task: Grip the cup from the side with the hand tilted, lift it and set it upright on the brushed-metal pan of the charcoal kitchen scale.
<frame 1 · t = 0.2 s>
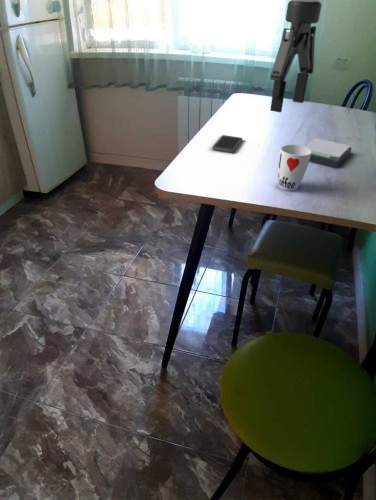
hand: (287, 106, 106), 19 cm above the table, tool pointing down, fingers open, 13 cm apart
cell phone: (227, 145, 138), on the table
scale: (323, 156, 134), on the table
cup: (288, 187, 115), on the table
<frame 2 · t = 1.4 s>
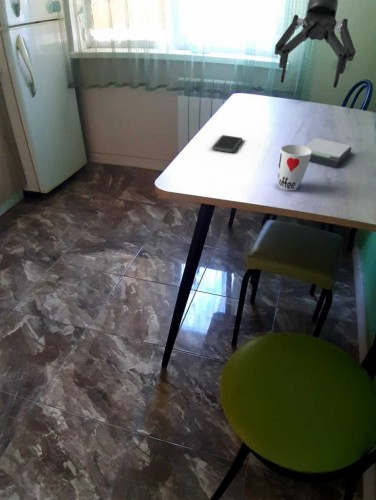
hand: (308, 81, 106), 24 cm above the table, tool tilted 45°, fingers open, 13 cm apart
nothing on the table moved.
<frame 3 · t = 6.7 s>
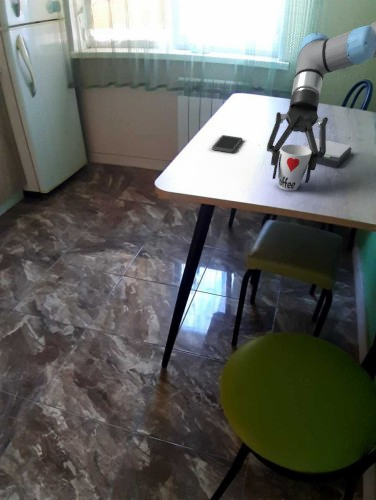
hand: (290, 178, 110), 4 cm above the table, tool tilted 45°, fingers closed on cup, 8 cm apart
cup: (288, 187, 115), on the table, touching gripper
everything else where it was.
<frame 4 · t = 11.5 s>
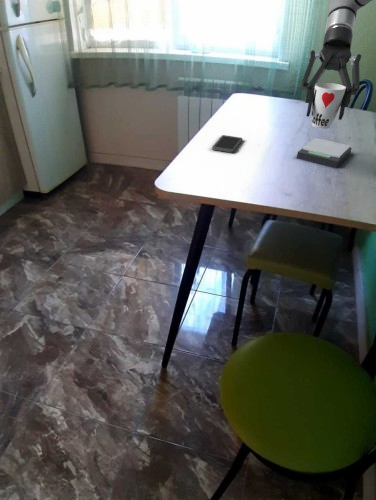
hand: (324, 115, 113), 16 cm above the table, tool tilted 45°, fingers closed on cup, 8 cm apart
cup: (320, 126, 118), point 12 cm above the table, touching gripper
everything else where it was.
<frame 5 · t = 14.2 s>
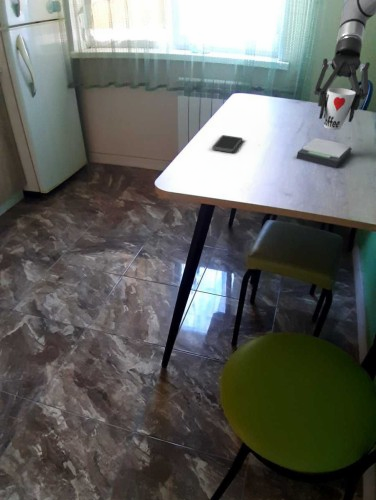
hand: (336, 117, 124), 12 cm above the table, tool tilted 45°, fingers closed on cup, 8 cm apart
cup: (332, 127, 129), point 8 cm above the table, touching gripper
everything else where it was.
when the fingers open (6 cm above the table, at t = 16.3 s): cup stays where it is, resting on scale.
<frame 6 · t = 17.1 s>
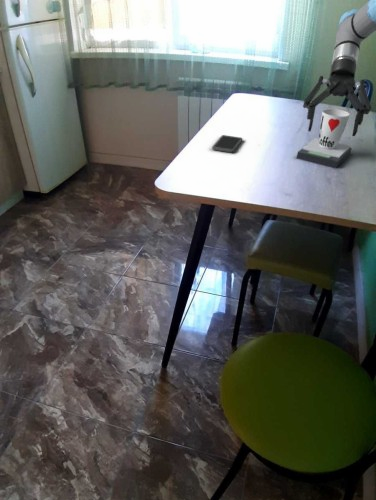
hand: (332, 131, 127), 8 cm above the table, tool tilted 45°, fingers open, 13 cm apart
cup: (327, 147, 133), point 2 cm above the table, touching scale
everything else where it was.
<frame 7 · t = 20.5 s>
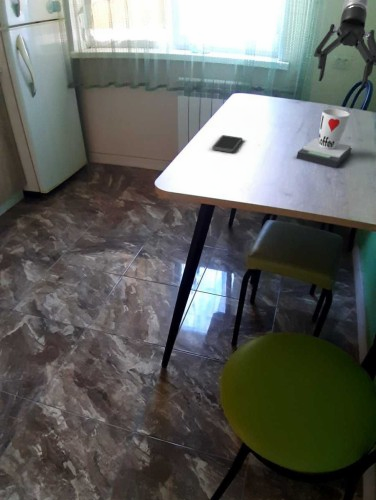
hand: (342, 81, 129), 19 cm above the table, tool tilted 45°, fingers open, 13 cm apart
nothing on the table moved.
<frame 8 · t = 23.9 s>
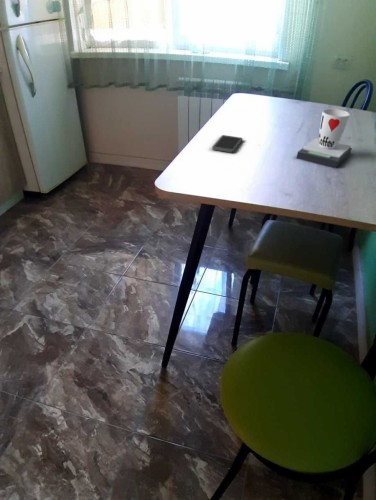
nothing on the table moved.
at the end: cup inside the target area on the scale (0.1 cm from its centre), point 2.4 cm above the scale's base; cup tilted 0°; the gripper is holding nothing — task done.
